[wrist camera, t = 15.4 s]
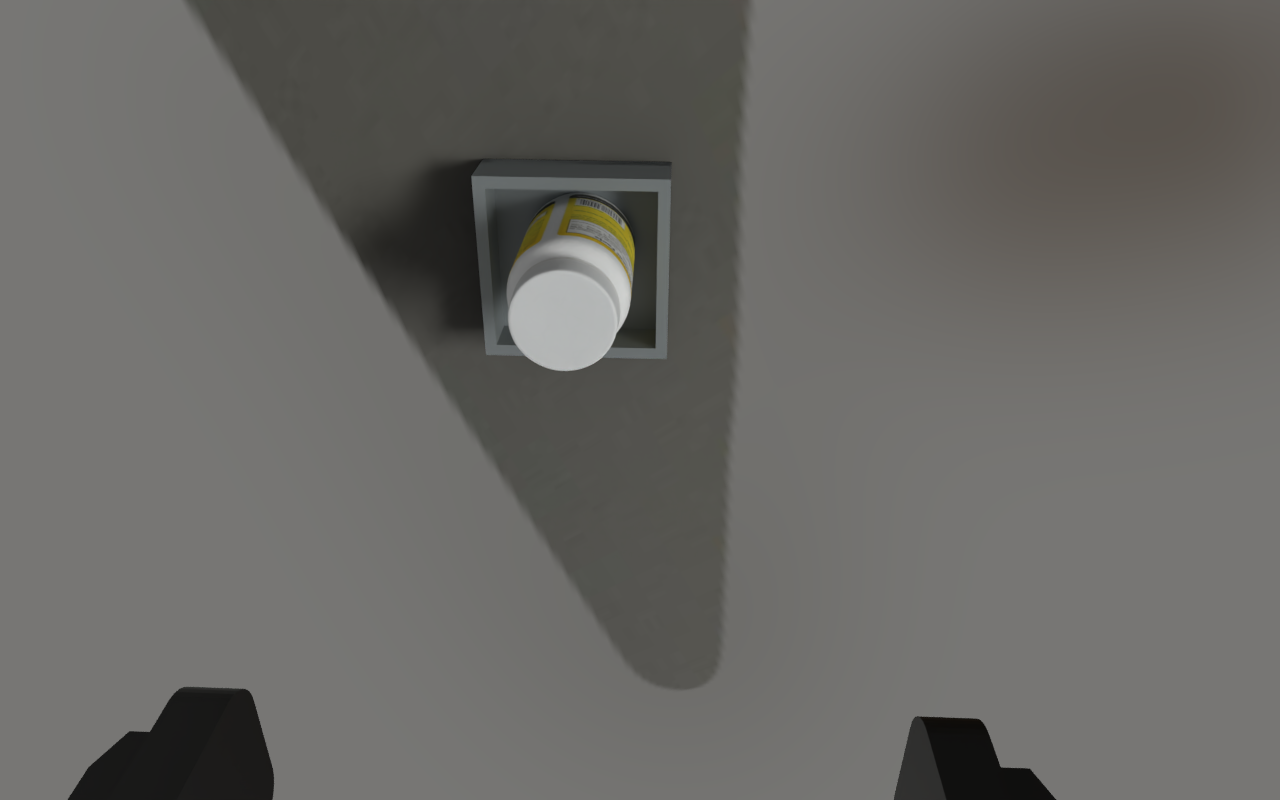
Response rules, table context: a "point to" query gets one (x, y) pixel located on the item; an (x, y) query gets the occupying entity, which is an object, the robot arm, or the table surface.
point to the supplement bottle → (571, 282)
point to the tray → (525, 186)
